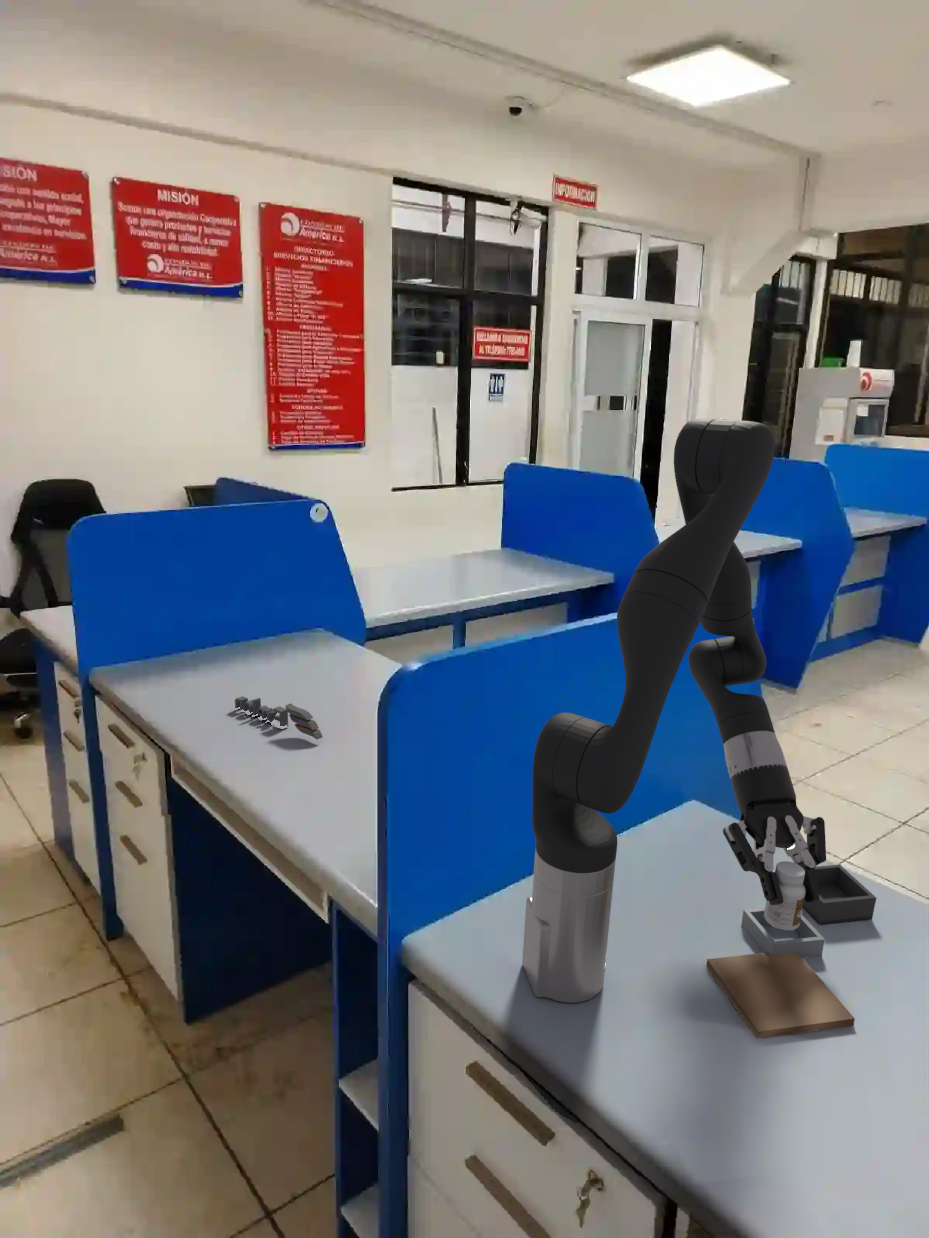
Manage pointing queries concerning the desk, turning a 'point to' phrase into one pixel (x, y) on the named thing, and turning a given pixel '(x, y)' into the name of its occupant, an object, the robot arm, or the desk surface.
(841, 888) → the box
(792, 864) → the pill bottle
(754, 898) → the desk surface
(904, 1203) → the desk surface
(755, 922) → the sleeve
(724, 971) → the walnut pad
